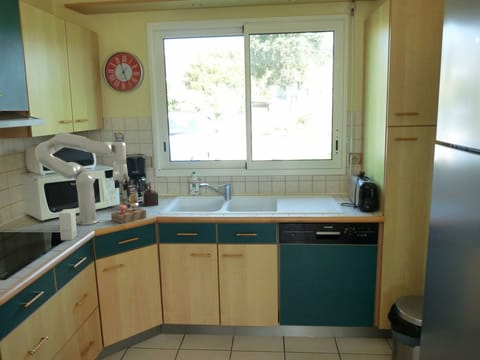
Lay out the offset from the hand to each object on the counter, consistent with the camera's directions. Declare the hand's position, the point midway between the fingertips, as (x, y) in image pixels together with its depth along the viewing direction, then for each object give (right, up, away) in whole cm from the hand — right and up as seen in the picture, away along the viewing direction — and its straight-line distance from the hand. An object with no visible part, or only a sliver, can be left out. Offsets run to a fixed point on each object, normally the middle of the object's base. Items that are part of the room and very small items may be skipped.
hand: (121, 189), depth 252 cm
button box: (+3, -20, +6) cm, 21 cm away
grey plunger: (+6, -14, +8) cm, 18 cm away
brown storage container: (+9, -13, +43) cm, 45 cm away
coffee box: (-4, -15, +35) cm, 38 cm away
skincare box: (-20, -27, -30) cm, 45 cm away
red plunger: (0, -16, +2) cm, 16 cm away
